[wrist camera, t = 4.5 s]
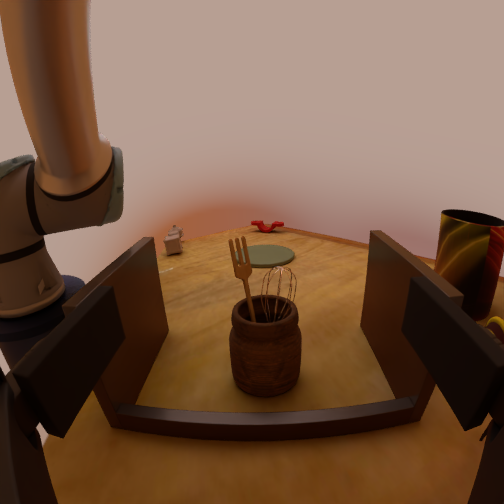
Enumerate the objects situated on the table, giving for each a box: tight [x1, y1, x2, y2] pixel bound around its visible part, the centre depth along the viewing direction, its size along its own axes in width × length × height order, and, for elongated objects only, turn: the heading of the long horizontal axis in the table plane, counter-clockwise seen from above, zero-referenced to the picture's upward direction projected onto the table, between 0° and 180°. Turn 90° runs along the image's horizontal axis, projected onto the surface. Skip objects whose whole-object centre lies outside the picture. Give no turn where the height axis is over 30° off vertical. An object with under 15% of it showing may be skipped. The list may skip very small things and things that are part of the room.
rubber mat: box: [235, 245, 294, 268], centre depth 56 cm, size 11×11×1 cm
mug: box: [434, 209, 504, 321], centre depth 34 cm, size 10×14×12 cm
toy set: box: [164, 225, 184, 255], centre depth 64 cm, size 12×3×4 cm, turn 10°
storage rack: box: [62, 230, 464, 441], centre depth 24 cm, size 15×24×11 cm, turn 88°
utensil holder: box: [229, 236, 302, 396], centre depth 24 cm, size 6×6×12 cm
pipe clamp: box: [251, 221, 284, 232], centre depth 73 cm, size 8×3×2 cm, turn 70°
